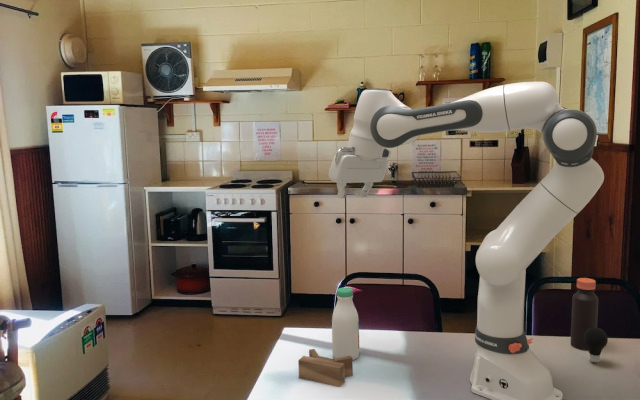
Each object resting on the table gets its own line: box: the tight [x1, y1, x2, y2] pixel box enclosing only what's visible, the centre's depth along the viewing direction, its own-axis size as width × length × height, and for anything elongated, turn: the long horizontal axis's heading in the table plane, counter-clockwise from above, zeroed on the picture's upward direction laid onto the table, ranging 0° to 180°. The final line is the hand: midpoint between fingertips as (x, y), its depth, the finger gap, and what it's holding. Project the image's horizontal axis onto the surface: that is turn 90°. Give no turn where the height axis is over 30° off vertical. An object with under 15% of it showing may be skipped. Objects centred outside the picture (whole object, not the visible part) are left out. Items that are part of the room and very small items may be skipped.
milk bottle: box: [331, 286, 360, 361], centre depth 155 cm, size 8×8×20 cm
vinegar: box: [570, 277, 599, 351], centre depth 158 cm, size 7×7×20 cm
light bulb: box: [584, 326, 609, 364], centre depth 148 cm, size 6×6×10 cm
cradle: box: [298, 348, 354, 387], centre depth 145 cm, size 8×13×5 cm, turn 63°
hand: (352, 197), depth 148 cm, fingers open, 8 cm apart
